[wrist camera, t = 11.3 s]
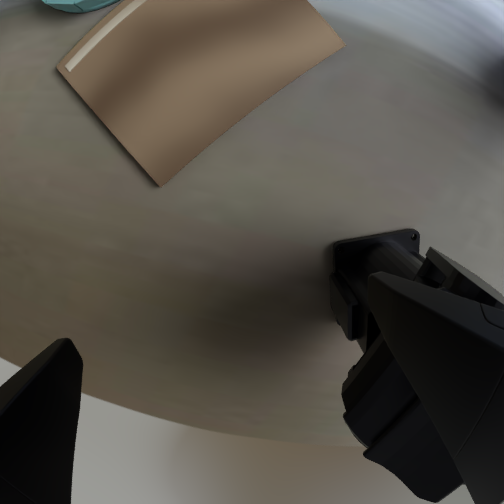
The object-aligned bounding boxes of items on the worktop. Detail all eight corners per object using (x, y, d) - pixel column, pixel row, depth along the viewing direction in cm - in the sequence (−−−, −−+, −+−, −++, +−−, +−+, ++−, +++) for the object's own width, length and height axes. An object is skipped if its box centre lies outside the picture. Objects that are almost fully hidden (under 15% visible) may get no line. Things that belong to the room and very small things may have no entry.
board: (342, 47, 16) (346, 45, 15) (162, 185, 19) (160, 187, 18) (230, -65, 12) (230, -70, 12) (60, 67, 15) (55, 66, 14)
